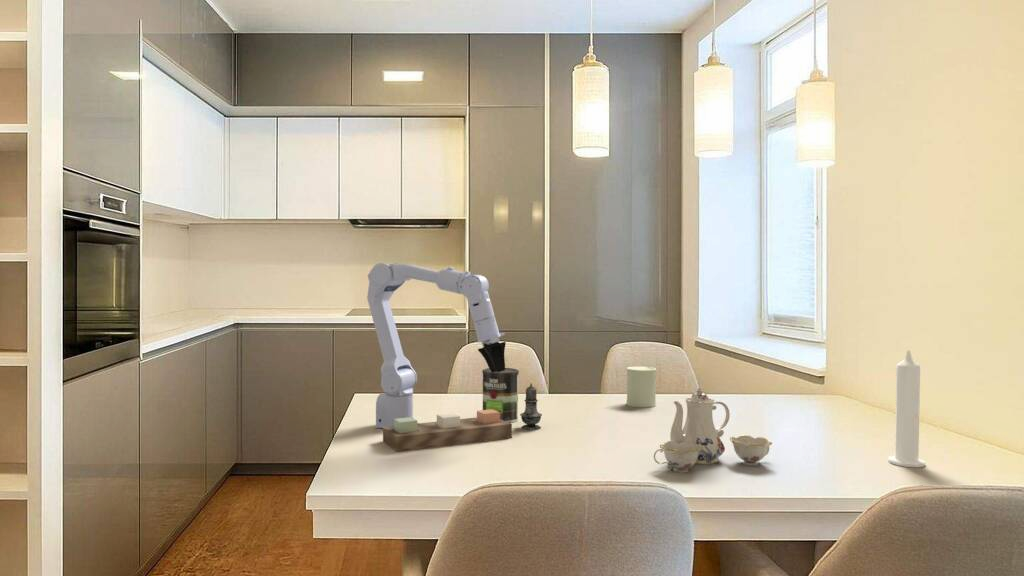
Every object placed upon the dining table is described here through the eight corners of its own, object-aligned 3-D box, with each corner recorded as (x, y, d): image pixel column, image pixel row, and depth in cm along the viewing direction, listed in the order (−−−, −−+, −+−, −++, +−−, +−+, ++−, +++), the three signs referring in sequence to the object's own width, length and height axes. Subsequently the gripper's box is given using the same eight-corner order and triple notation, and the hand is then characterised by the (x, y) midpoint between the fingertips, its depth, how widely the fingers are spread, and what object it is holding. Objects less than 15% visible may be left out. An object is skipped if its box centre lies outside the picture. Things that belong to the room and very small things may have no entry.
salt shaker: (540, 430, 182) (540, 385, 182) (518, 429, 184) (518, 384, 183) (543, 425, 188) (543, 381, 188) (522, 424, 189) (522, 381, 189)
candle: (881, 459, 156) (883, 348, 155) (911, 458, 156) (913, 348, 156) (901, 468, 149) (903, 351, 148) (932, 467, 149) (934, 351, 149)
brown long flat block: (396, 451, 161) (396, 436, 161) (383, 441, 171) (383, 427, 171) (511, 437, 175) (511, 423, 175) (492, 428, 184) (492, 415, 184)
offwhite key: (443, 431, 170) (443, 418, 170) (436, 427, 174) (436, 414, 173) (459, 429, 172) (459, 416, 172) (452, 425, 176) (452, 413, 175)
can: (658, 407, 214) (658, 368, 214) (628, 407, 214) (629, 368, 214) (652, 402, 223) (653, 364, 223) (624, 401, 223) (624, 364, 223)
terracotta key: (484, 426, 175) (484, 413, 175) (476, 423, 179) (476, 410, 179) (499, 424, 177) (499, 412, 177) (492, 421, 181) (492, 409, 181)
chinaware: (676, 488, 140) (682, 408, 138) (630, 459, 155) (635, 386, 153) (781, 472, 151) (788, 398, 149) (729, 446, 166) (735, 379, 164)
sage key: (399, 435, 165) (399, 422, 164) (394, 432, 168) (394, 418, 168) (417, 433, 167) (417, 420, 166) (411, 430, 170) (411, 417, 170)
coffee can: (510, 425, 189) (510, 373, 189) (476, 421, 193) (476, 371, 193) (524, 417, 199) (524, 368, 198) (491, 414, 203) (491, 366, 202)
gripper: (504, 313, 172) (519, 366, 171) (494, 318, 186) (507, 367, 185) (477, 320, 170) (491, 374, 169) (468, 325, 184) (482, 374, 183)
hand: (498, 371), depth 177 cm, fingers open, 7 cm apart
